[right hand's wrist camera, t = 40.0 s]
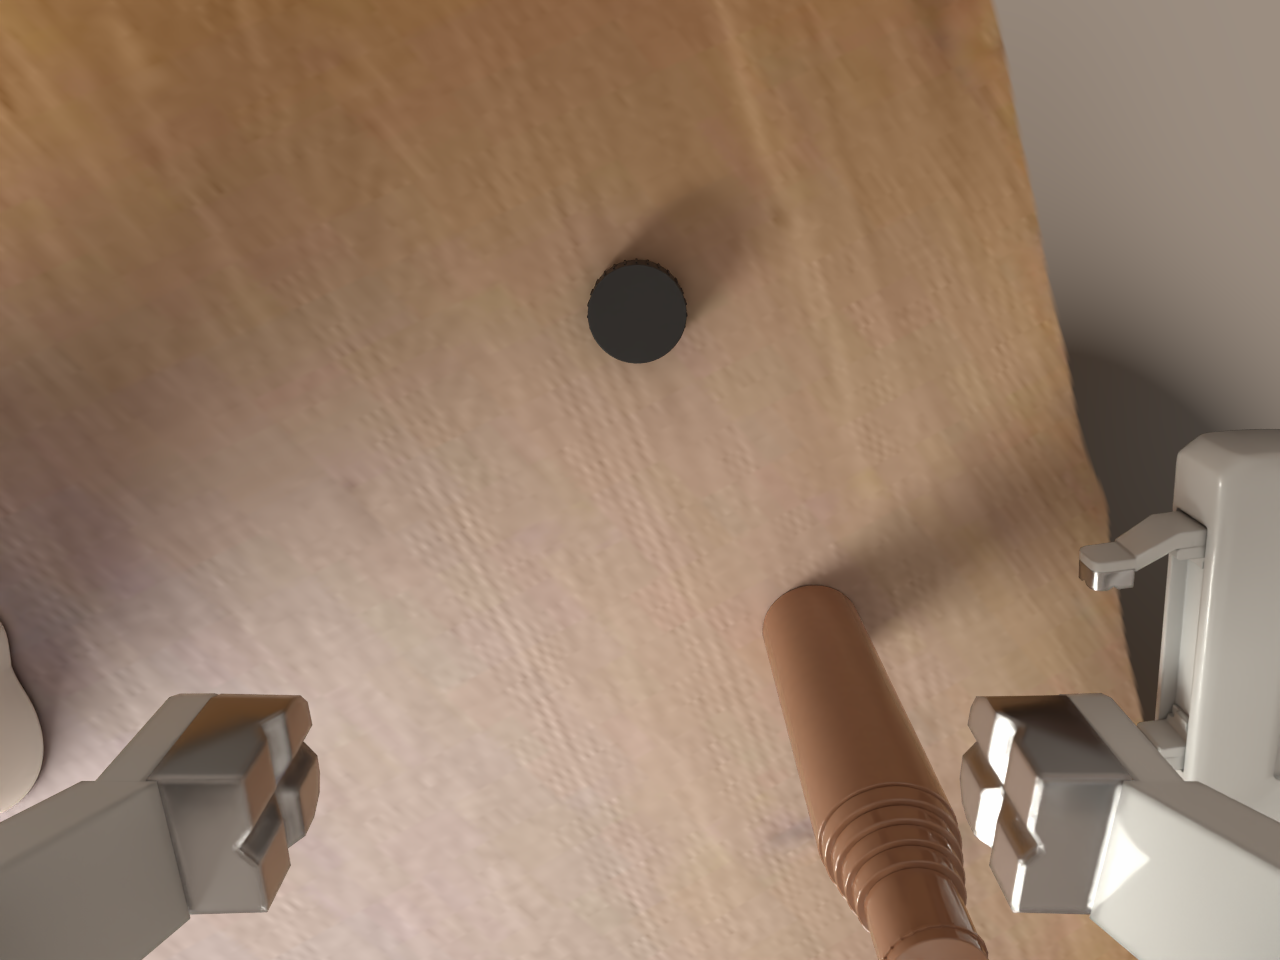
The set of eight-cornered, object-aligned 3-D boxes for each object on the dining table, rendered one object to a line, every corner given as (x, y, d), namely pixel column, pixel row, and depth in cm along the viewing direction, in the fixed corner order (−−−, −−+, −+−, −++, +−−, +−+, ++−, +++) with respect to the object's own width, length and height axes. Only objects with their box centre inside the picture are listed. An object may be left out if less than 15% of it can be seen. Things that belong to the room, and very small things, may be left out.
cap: (704, 320, 41) (707, 328, 39) (624, 374, 42) (624, 383, 40) (650, 238, 39) (651, 242, 38) (569, 295, 40) (566, 301, 39)
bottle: (766, 674, 48) (857, 1044, 28) (758, 591, 46) (849, 923, 26) (861, 663, 48) (1021, 1028, 28) (857, 579, 46) (1026, 905, 26)
